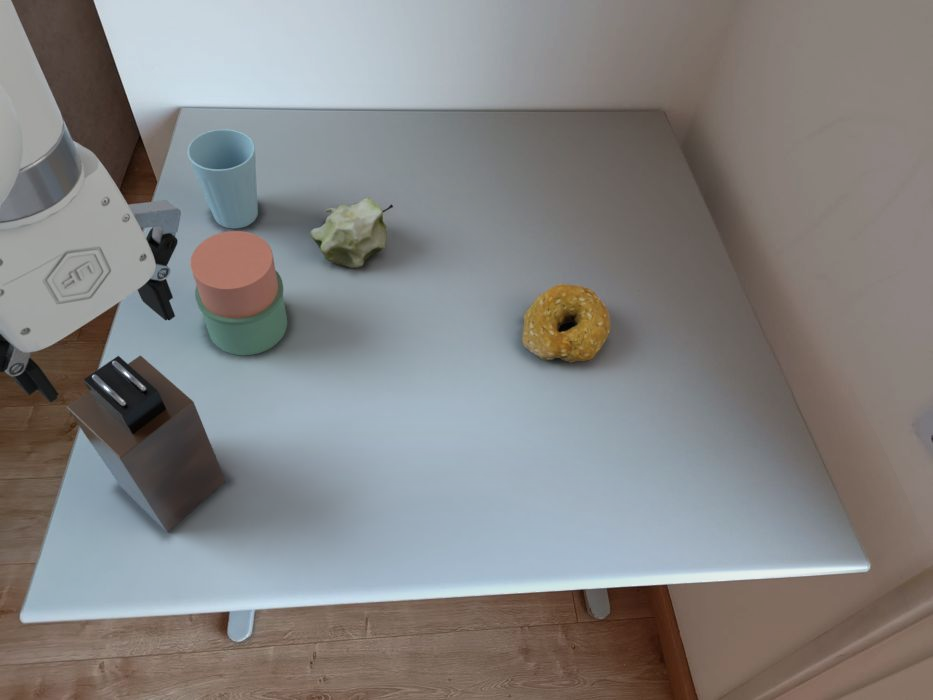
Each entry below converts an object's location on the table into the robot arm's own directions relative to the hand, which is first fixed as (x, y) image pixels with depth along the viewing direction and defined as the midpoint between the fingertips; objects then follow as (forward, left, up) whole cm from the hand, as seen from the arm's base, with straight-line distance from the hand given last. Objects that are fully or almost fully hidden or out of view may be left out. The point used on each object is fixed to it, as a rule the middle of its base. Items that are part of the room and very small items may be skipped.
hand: (103, 347), depth 52 cm
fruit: (+35, +10, -23) cm, 43 cm away
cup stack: (+18, +10, -22) cm, 30 cm away
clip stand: (0, 0, -22) cm, 22 cm away
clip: (0, 0, -7) cm, 7 cm away
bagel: (+42, -18, -23) cm, 51 cm away
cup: (+29, +25, -23) cm, 44 cm away
